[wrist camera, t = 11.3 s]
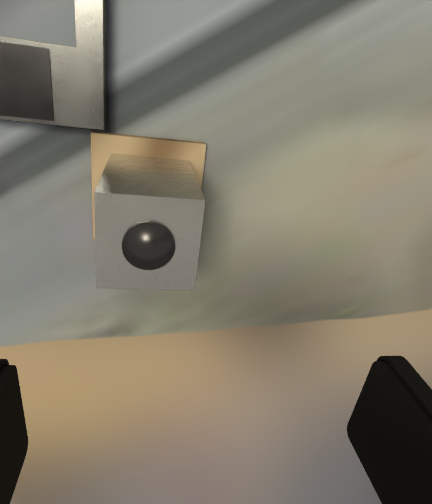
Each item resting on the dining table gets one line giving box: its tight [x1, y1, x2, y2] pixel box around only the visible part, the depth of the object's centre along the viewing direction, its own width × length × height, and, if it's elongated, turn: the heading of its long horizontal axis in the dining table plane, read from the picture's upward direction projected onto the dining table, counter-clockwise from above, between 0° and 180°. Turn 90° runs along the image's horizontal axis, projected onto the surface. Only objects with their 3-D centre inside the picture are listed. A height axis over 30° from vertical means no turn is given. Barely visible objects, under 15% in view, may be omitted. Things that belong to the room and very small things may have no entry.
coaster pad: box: [91, 131, 206, 239], centre depth 28 cm, size 8×8×1 cm
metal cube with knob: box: [94, 153, 205, 290], centre depth 23 cm, size 6×6×9 cm
